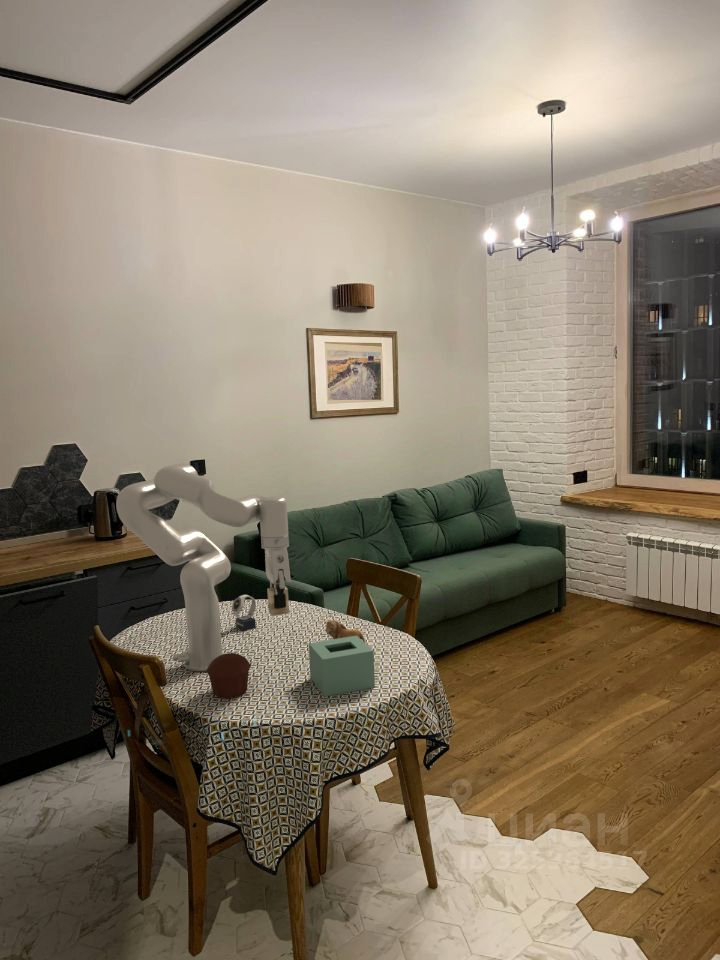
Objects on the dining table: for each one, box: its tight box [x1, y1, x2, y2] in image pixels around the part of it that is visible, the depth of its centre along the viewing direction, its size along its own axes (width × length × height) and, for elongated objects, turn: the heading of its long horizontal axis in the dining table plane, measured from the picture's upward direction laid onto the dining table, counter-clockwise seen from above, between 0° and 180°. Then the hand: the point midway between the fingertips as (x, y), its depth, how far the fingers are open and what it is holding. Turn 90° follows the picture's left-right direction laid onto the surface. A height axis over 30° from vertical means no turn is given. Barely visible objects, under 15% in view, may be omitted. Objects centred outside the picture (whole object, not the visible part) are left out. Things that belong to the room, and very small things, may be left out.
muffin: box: [205, 652, 252, 700], centre depth 191 cm, size 12×11×10 cm
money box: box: [308, 636, 376, 697], centre depth 195 cm, size 14×13×10 cm
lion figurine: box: [324, 619, 366, 643], centre depth 219 cm, size 15×5×9 cm, turn 70°
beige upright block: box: [266, 586, 290, 617], centre depth 202 cm, size 5×4×7 cm
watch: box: [231, 594, 257, 632], centre depth 243 cm, size 6×8×11 cm
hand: (278, 605), depth 202 cm, fingers closed on beige upright block, 3 cm apart
